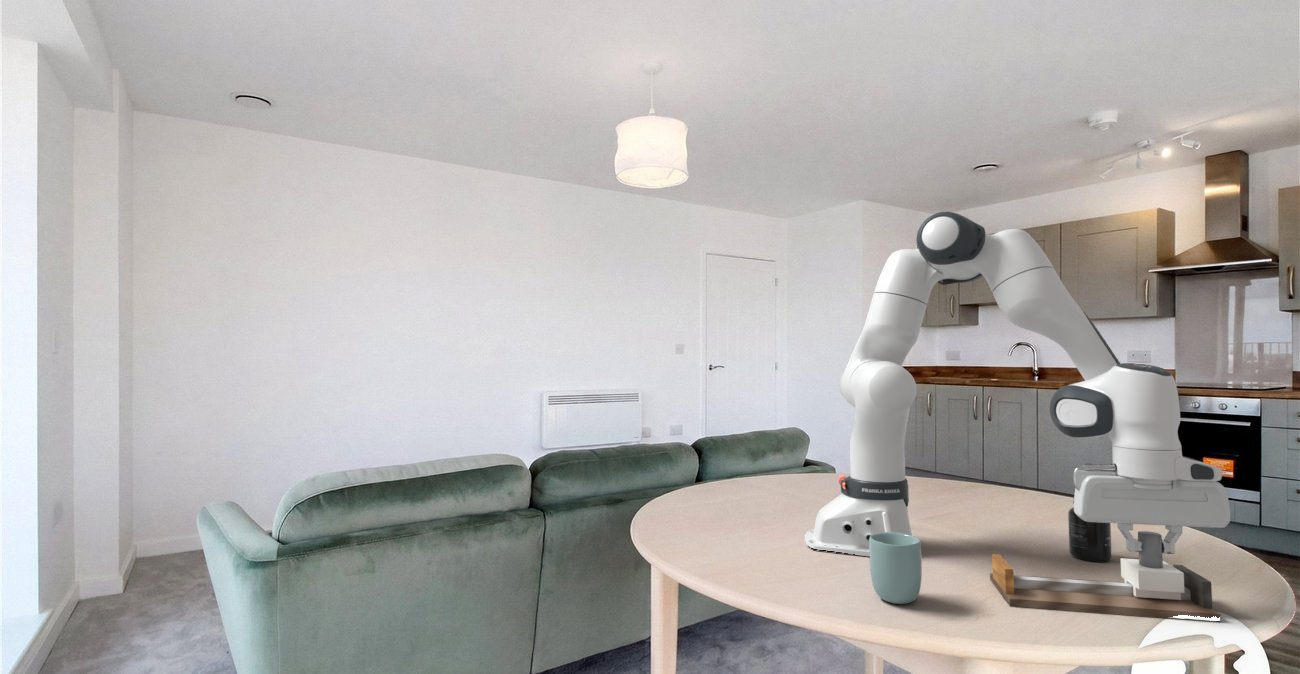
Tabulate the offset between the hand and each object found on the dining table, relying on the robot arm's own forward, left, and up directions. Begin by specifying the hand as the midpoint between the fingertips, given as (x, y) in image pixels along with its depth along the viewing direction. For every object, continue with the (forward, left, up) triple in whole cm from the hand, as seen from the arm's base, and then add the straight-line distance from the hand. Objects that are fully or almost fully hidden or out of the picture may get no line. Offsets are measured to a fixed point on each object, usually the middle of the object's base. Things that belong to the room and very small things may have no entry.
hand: (1150, 552), depth 101 cm
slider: (0, 0, -7) cm, 7 cm away
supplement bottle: (0, +24, -8) cm, 25 cm away
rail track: (-8, 0, -8) cm, 11 cm away
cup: (-39, -7, -8) cm, 41 cm away
